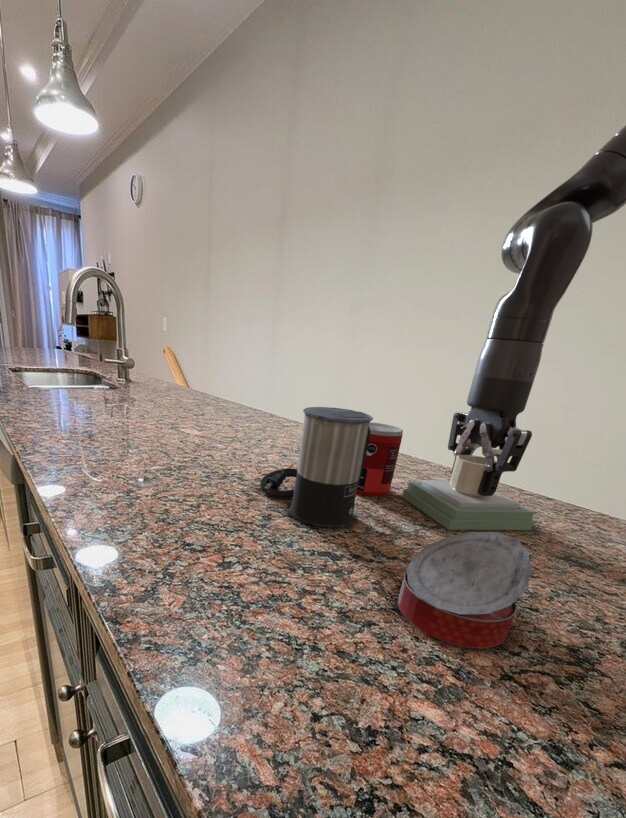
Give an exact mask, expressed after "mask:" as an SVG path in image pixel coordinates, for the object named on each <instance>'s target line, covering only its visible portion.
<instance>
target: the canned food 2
mask: <svg viewBox="0 0 626 818" xmlns="http://www.w3.org/2000/svg"><path fill="white" fill-rule="evenodd" d="M532 571H533V569H532V564H531V559H530V552H529V550H527V548H525V546H523V544H522V543H521V541H519V539H517V538H514V537H513V536H510V535H507V534H504V533H500V532H498V531H485V532H484V531H469V532H463V533H460V534H454V535H448V536H446V537H444V538H442V539H439V540H437V541H434V542H431V543H429V544H427V545H426V546H424V547H423V548H422V549H421V550H419V551H418V552H417V553H415V554H413V555H412V558H411V559H410V562H409V564H408V565H407V567H406V571H404V575H403V579H402V582H401V587H400V589H399V593H398V598H397V607H398V608H399V611H400V613H401V614H402V616H403V617H404V618H405V619H406V620H407V621H408V622H410V624H412V625H413V626H415V627H416V628H417V629H419V630H420V631H422V632H424V633H425V634H427V635H429V636H431V637H434V638H435V639H438V640H440V641H443V642H446V643H448V644H452V645H456V646H460V647H466V648H473V649H488V648H493V647H497V646H498V645H501V644H502V643H503V642H505V640H506V638H507V636H508V633H509V631H510V629H511V625H512V622H513V619H514V617H515V615H516V613H517V610H518V609H517V607H518V606H517V603H516V601H517V600H518V599H519V598H520V597H521V596H522V595H523V594H524V593H525V592H526V591H527V588H528V585H529V583H530V582H529V581H530V578H531V575H532Z"/></svg>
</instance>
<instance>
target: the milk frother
mask: <svg viewBox="0 0 626 818" xmlns="http://www.w3.org/2000/svg"><path fill="white" fill-rule="evenodd" d="M302 412H303V413H304V417H303V424H302V432H301V433H302V434H301V439H300V446H299V447H300V448H299V455H298V462H297V468H292V467H289V468H287V467H286V468H280V469H276V470H273V471H271V472H268V473H266V474H265V475H264V476H263V477H262V478H261V479H260V482H259V487H260V489H261V491H262V492H263V493H265V494H266V495H267V496H270V497H273V498H277V499H290V498H292V500H291V505H290V507H289V508H288V511H289V514H290V515H291V517H293V518H294V519H295V520H297V521H299V522H301V523H303V524H306V525H310V526H313V527H317V528H318V527H320V528H325V529H340V528H344V527H348V526H350V525H351V524H352V523H353V522H354V511H355V501H356V495H357V494H356V491H357V488H358V486H359V482H360V478H361V474H362V470H363V466H364V461H365V457H366V453H367V449H368V445H369V441H370V427H369V423H370V422H372V421H373V419H374V417H373V416H371V415H370V414H368V413H366V412H363V411H359V410H358V411H357V410H352V409H348V408H347V409H346V408H341V407H328V406H311V407H306V408H303V409H302ZM286 478H295V484H294V488H293V489H288V490H279V488H280V487H281V486H282V484H283V483H284V481H285V480H286Z"/></svg>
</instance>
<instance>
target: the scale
mask: <svg viewBox="0 0 626 818" xmlns="http://www.w3.org/2000/svg"><path fill="white" fill-rule="evenodd" d="M401 495H402V496H401V498H403V499H404V500H406V501H407V502H408V503H409V504H411V505H413V506H414V507H416V508H417V509H418V510H419V511H421V512H422V513H424V514H425V515H426V516H428V517H429V518H431V519H432V520H434V521H435V522H437V523H438V524H440V525H441V526H443V528H445V529H446V530H448V531H449V530H451V531H452V530H453V531H454V530H456V531H457V530H458V531H462V530H463V531H465V530H466V531H469V530H470V531H471V530H472V531H475V530H476V531H532V529H533V527H534V524H535V520H533V517H534V514H535V511H533V510H531V509H529V508H527V507H525V506H523V505H521V504H520V505H519V508H518V509H492V508H458V507H456V506H455V505H453V504H451V503H450V502H448V501H447V500H445V499H443V498H442V497H440V496H438V495H437V494H435V493H433V492H432V491H430V490H429V489H427V488H425V487H424V486H422V481H419V480H418V481H417V480H416V481H415V480H409V481H408V484H407V487H406V488H403V492H402V494H401Z"/></svg>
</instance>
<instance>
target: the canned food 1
mask: <svg viewBox="0 0 626 818" xmlns="http://www.w3.org/2000/svg"><path fill="white" fill-rule="evenodd" d="M369 427H370V441H369V445H368V449H367V453H366V457H365V461H364V466H363V470H362V474H361V478H360V482H359V486H358V488H357V491H356V495H361V496H365V497H366V496H367V497H385V496H387V495H388V493H389V492H390V490H391V487H392V483H393V480H394V479H393V478H394V474H395V469H396V465H397V461H398V457H399V452H400V449H401V445H402V439H403V436H404V430H403V429H401V428H400V427H398V426H394V425H390V424H387V423H386V424H385V423H380V422H372V421H370V423H369Z"/></svg>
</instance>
